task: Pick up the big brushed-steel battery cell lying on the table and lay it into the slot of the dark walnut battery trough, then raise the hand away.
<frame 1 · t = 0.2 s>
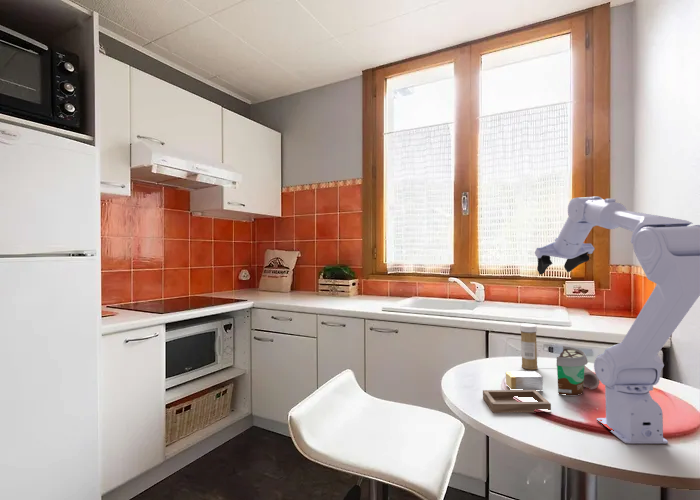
hand: (553, 270, 103), 31 cm above the table, fingers open, 7 cm apart
battery cell: (524, 388, 98), on the table
food container: (574, 391, 95), on the table
battery trough: (515, 404, 89), on the table
sprinkles bottle: (529, 368, 113), on the table
coil: (576, 378, 105), on the table
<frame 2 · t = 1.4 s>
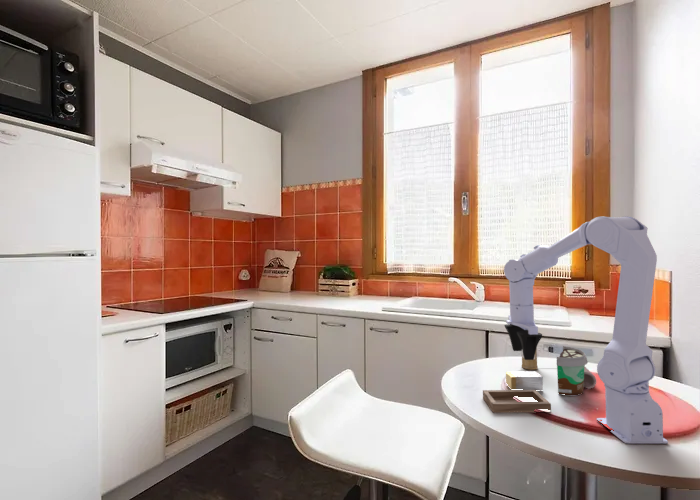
hand: (522, 354, 98), 9 cm above the table, fingers open, 7 cm apart
nothing on the table moved.
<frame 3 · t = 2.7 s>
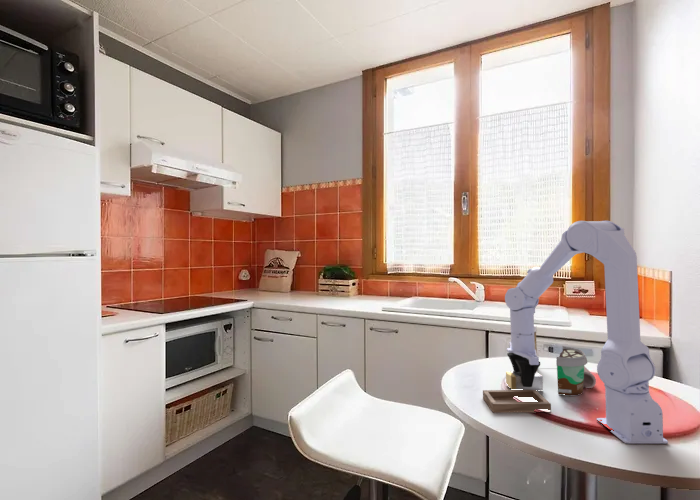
hand: (523, 383, 98), 1 cm above the table, fingers closed on battery cell, 4 cm apart
battery cell: (524, 388, 98), on the table, touching gripper
everything else where it was.
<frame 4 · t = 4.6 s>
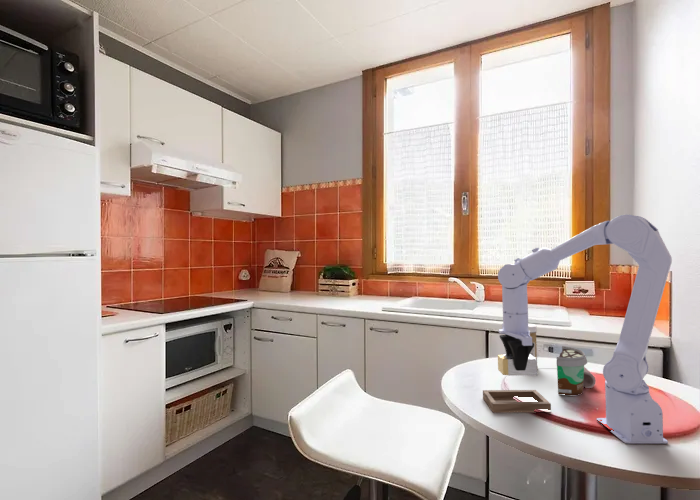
hand: (516, 366, 91), 8 cm above the table, fingers closed on battery cell, 4 cm apart
battery cell: (517, 372, 91), point 7 cm above the table, touching gripper
everything else where it was.
when the fingers open (3 cm above the table, at t = 6.6 s): battery cell stays where it is, resting on battery trough.
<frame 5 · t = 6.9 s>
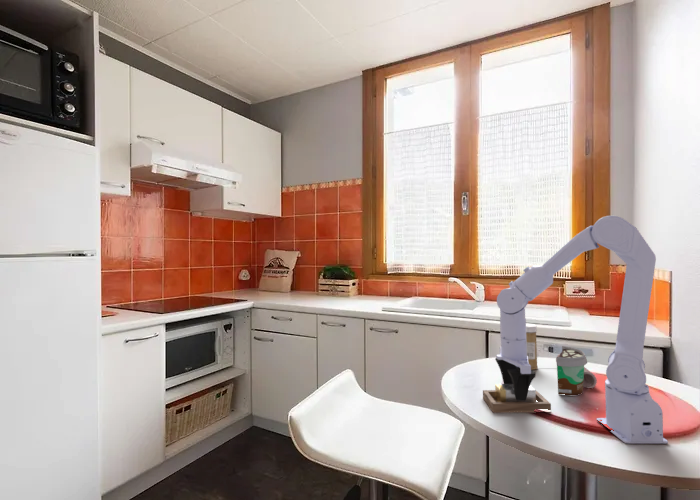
hand: (514, 393, 88), 3 cm above the table, fingers open, 7 cm apart
battery cell: (515, 403, 88), resting on battery trough
everything else where it was.
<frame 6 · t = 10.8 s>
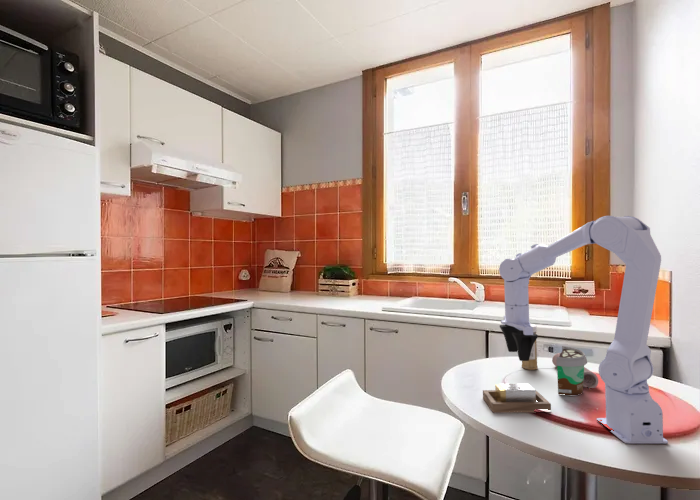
hand: (518, 355, 96), 9 cm above the table, fingers open, 7 cm apart
at the end: battery cell 0.0 cm off-centre on the battery trough, point 0.4 cm above the battery trough's base; battery cell tilted 0°; the gripper is holding nothing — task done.
